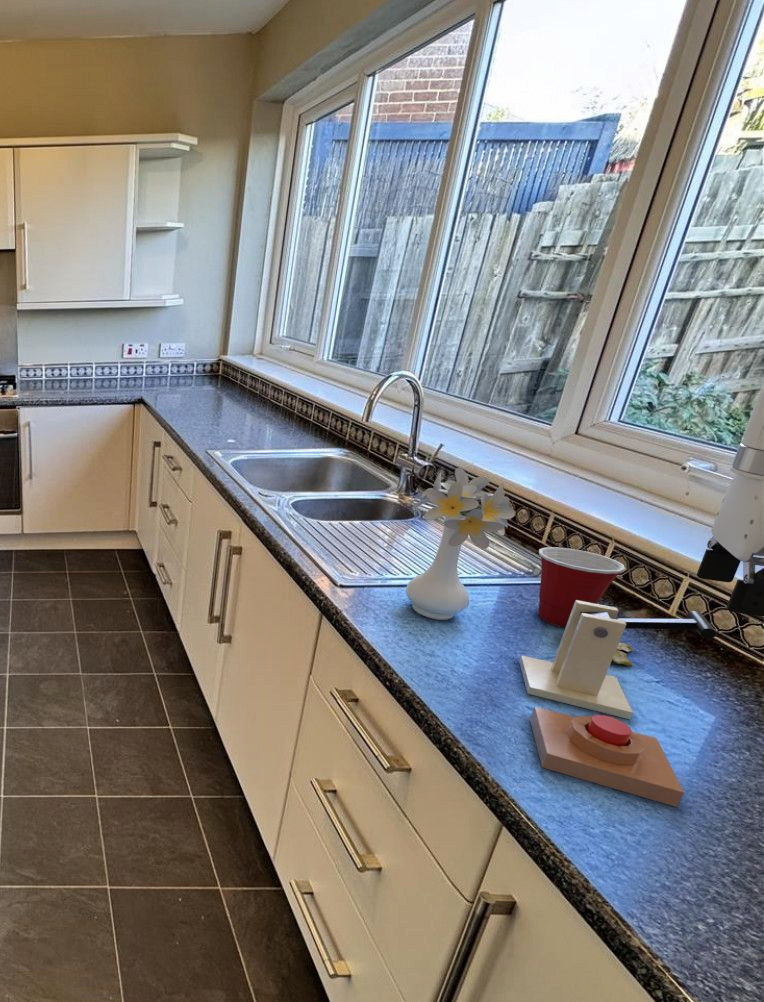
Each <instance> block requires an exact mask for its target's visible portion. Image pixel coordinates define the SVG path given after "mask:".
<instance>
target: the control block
mask: <svg viewBox="0 0 764 1002" xmlns="http://www.w3.org/2000/svg"><path fill="white" fill-rule="evenodd" d="M593 716H594V715H577V716H573V715H569V714H565V713H562V712H558V711H554V710H550V709H546V708H542V707H539V706H534V707H533V709H532V712H531V716H530V718H529V722H530V726H531V729H532V733H533V737H534V741H535V746H536V749H537V753H538V758H539V761H540V765H541V768H543V769H547V770H550V771H553V772H555V773H560V774H564V775H566V776H570V777H573V778H576V779H580V780H582V781H587V782H591V783H594V784H596V785H597V784H598V785H600V786H602V787H603V786H604V787H606V788H611V789H615V790H617V791H621V792H624V793H628V794H631V795H634V796H637V797H641V798H645V799H647V800H650V801H651V800H652V801H654V802H657V803H661V804H665V805H667V806H668V805H669V806H672V807H675V808H678V806H679V805H680V802H681V800H682V798H683V796H684V794H685V791H684V790H683V787H682V785H681V783H680V781H679V780H678V778H677V776H676V773H675V771H674V770H673V767H672V766H671V764H670V762H669V760H668V758H667V755H666V754H665V752H664V750H663V748H662V746H661V744H660V742H659V740H658V738H657V737H654V736H650V735H646V734H642V733H639V732H635V731H632V733H631V735H630V738H629V740H628V742H627V744H626V745H625V746H615V745H612V744H608V743H605V742H603V741H601V740H599V739H597V738H595V737H593V736H592V735H591V734H590V733H589V732H588V730H587V728H588V725H589V723H590V721H591V718H592V717H593Z"/></svg>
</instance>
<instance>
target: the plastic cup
mask: <svg viewBox="0 0 764 1002" xmlns="http://www.w3.org/2000/svg"><path fill="white" fill-rule="evenodd" d="M538 555H539V557H540V565H541V572H540V573H541V575H540V582H539V583H540V585H539V594H538V595H539V597H538V598H539V600H538V601H539V602H538V617H539V618H540V619H541V620H543V621H545V622H546V623H548V624H551V625H553V626H556V627H559V628H560V627H561V628H564V629H565V628H566V625H567V623H568V620H569V617H570V614H571V612H572V609H573V606H574V603H575V601H576V600H578V601H584V602H589V603H594V604H599V602H600V600H601V599H602V597H603V596H604V594H606V591H607V590H608V589H609V587H610V585H612V584H613V582H614V580H615V579H617V577H618V575H620V574H621V573H622V572H624V571H625V570H626V568H625V567H626V566H625V565H624V564H623V563H621V562H619V561H618V560H617V559H613V558H610V557H608V556H605V555H601V554H597V553H594V552H589V551H587V550H586V551H585V550H580V549H574V548H569V547H568V548H567V547H556V546H553V547H552V546H551V547H550V546H549V547H542V548H539V549H538Z"/></svg>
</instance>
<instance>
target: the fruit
mask: <svg viewBox="0 0 764 1002" xmlns="http://www.w3.org/2000/svg"><path fill="white" fill-rule="evenodd" d="M621 650H622V651H621ZM623 651H626V652H627V653H630V652H631V651H633V647H632V645H630V644H627V643H625V642H621V641H620V642H619V644H618V647H617V649H616V652H615V654H614V657H613V659H612V662H613V663H614V664H616V665H624V666H634V665H633V662H631V661H630V660H629V659H628V657H627V656H628V654H627V653H625V652H623Z"/></svg>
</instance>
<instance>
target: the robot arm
mask: <svg viewBox="0 0 764 1002" xmlns="http://www.w3.org/2000/svg"><path fill="white" fill-rule="evenodd" d="M729 471H730V472H732V473H733V474H734V476H733V478H732V480H731V482H730V484H729V486H728V488H727V489H726V491H725V495H724V497H723V498H722V501H721V504H720V506H719V508H718V511H717V512H716V515H715V518H714V521H713V525H712V528H711V535H712V537H710V539H708V541H707V543H706V548H707V549H705V552H704V554H703V557H702V559H701V562H700V564H699V567H698V569H697V571H696V576H697V577H698V578H699V579H701V580H706V581H713V582H722V583H732V582H733V581H734V579H735V576H736V574H737V572H738V568H739V566H740V564H741V562H742V579H737V580H736V583H735V585H734V588H733V589H732V592H731V595H730V597H729V600H728V601H727V603H726V604H727V605H726V609H727V610H728V611H729V612H731V613H737V614H743V615H744V614H745V615H749V616H756V617H764V381H763V382H762V385H761V388H760V391H759V393H758V396H757V398H756V401H755V403H754V406H753V409H752V412H751V413H750V416H749V420H748V422H747V425H746V427H745V430H744V431H743V435H742V437H741V440H740V443H739V444H738V447H737V450H736V452H735V455H734V458H733V460H732V462H731V466H730V469H729ZM756 566H761V567H762V568H761V569H759V570H758V571H756Z"/></svg>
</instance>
